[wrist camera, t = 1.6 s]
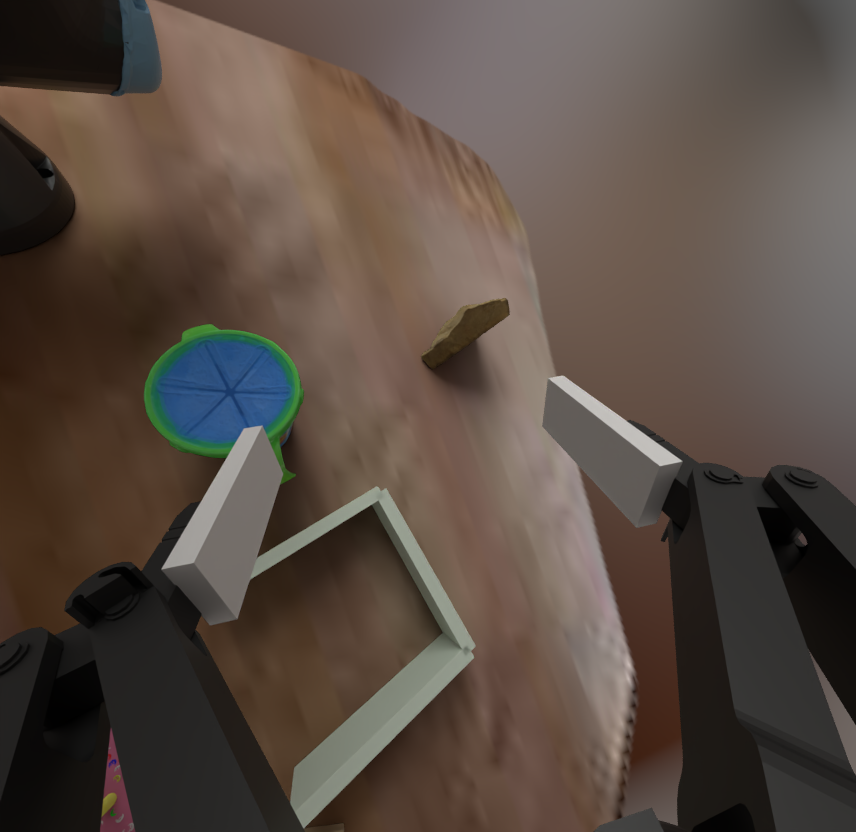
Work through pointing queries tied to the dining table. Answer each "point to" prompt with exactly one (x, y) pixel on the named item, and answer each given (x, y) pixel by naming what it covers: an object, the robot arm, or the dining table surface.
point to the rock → (465, 329)
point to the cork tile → (326, 828)
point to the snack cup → (223, 392)
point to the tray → (403, 693)
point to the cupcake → (115, 797)
